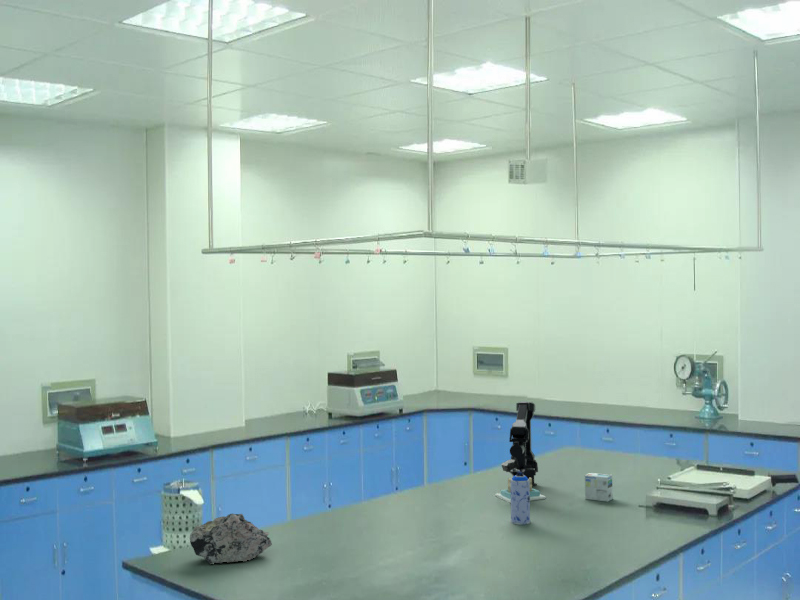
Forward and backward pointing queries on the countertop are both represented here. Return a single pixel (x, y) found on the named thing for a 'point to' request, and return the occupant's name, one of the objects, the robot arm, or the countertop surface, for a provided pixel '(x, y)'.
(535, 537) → the countertop surface
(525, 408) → the robot arm
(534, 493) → the keyed cradle
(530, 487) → the key block
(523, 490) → the aerosol can
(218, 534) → the mineral sample
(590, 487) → the light bulb box
